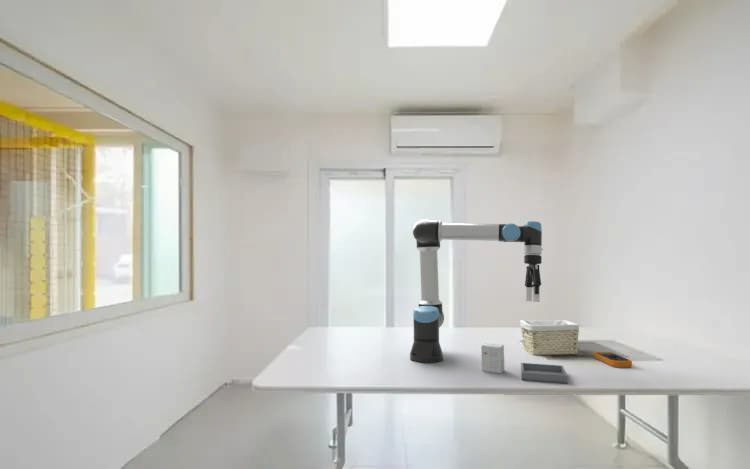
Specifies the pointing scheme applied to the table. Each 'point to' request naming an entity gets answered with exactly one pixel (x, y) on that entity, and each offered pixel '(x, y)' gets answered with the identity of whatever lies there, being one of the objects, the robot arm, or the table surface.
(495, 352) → the small box
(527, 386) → the table surface
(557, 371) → the tray
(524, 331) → the storage basket
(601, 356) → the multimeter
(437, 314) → the robot arm
